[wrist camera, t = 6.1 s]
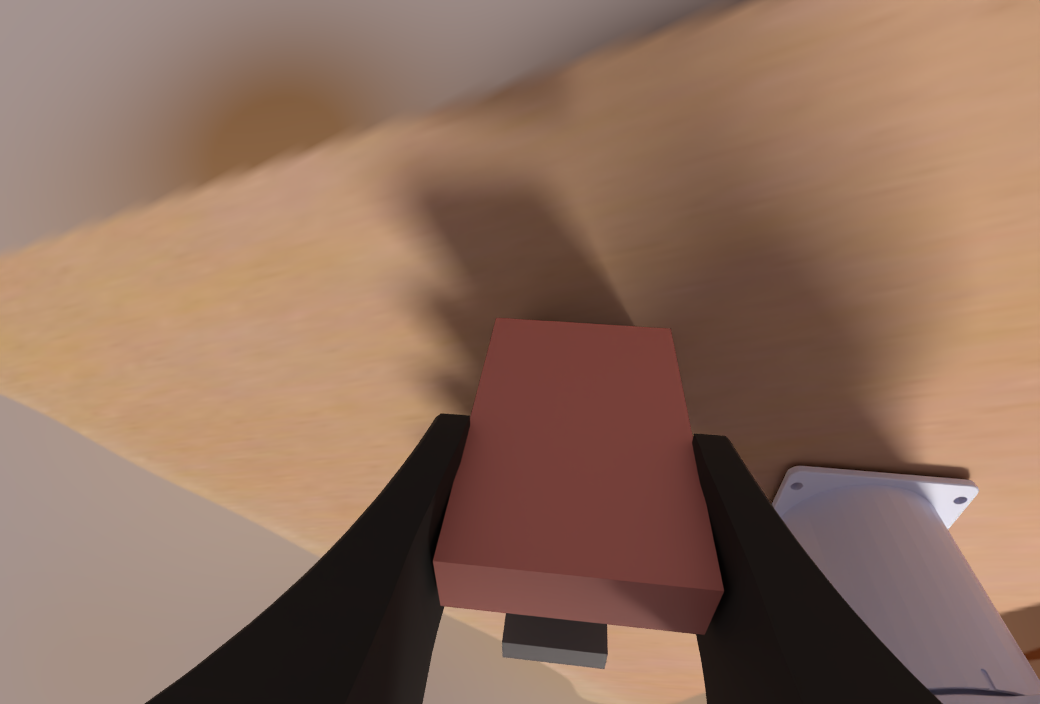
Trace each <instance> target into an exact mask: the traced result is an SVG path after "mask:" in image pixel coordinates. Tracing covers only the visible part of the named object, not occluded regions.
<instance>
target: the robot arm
mask: <svg viewBox="0 0 1040 704" xmlns="http://www.w3.org/2000/svg"><path fill="white" fill-rule="evenodd" d="M469 428H470V416H466V415H454V414H440V415H438V416H437V417H436V418H435V420H434V421H433V423H432V424H431V426H430V427H429V429H428V430H427V432H426V433H425V435H424V436H423V438H422V439H421V440H420V442H419V443H418V445H417V446H416V448H415V449H414V450H413V452H412V453H411V454H410V456H409V457H408V458H407V460H406V461H405V462H404V464H403V465H402V466H401V468H400V469H399V470H398V471H397V473H396V474H395V475H394V477H393V478H392V479H391V480H390V482H389V483H388V484H387V485H386V487H385V488H384V489H383V490H382V492H381V493H380V494H379V495H378V497H377V498H376V499H375V500H374V501H373V502H372V504H371V505H370V506H369V507H368V508H367V509H366V510H365V511H364V513H363V514H362V515H361V516H360V517H359V518H358V519H357V521H356V522H355V523H354V524H353V525H352V526H351V527H350V529H349V530H348V531H347V532H346V533H345V534H344V535H343V536H342V537H341V538H340V539H339V540H338V541H337V542H336V544H335V545H334V546H333V547H332V548H331V549H330V550H329V551H328V552H327V553H326V554H325V555H324V556H323V557H322V558H321V559H320V560H319V561H318V562H317V563H316V564H315V565H314V566H313V567H312V568H311V569H310V570H309V571H308V572H307V573H305V574H304V576H303V577H301V578H300V579H299V580H298V581H297V582H296V583H295V584H294V585H292V586H291V587H290V588H289V589H288V590H287V591H286V592H285V593H284V594H283V595H282V596H281V597H279V598H278V599H277V600H276V601H275V602H274V603H273V604H272V605H271V606H269V607H268V608H267V609H266V610H265V611H264V612H262V613H261V614H260V615H259V616H258V617H257V618H255V619H254V620H253V621H252V622H251V623H250V624H248V625H247V626H246V627H245V628H243V629H242V630H241V631H240V632H238V633H237V634H236V635H235V636H233V637H232V638H231V639H230V640H228V641H227V642H226V643H225V644H223V645H222V646H221V647H219V648H218V649H217V650H216V651H214V652H213V653H212V654H211V655H209V656H208V657H207V658H206V659H205V660H203V661H202V662H201V663H200V664H198V665H197V666H196V667H194V668H193V669H192V670H190V671H189V672H188V673H186V674H185V675H184V676H182V677H181V678H180V679H178V680H177V681H176V682H175V683H173V684H171V685H170V686H169V687H167V688H166V689H164V690H163V691H162V692H160V693H159V694H157V695H156V696H155V697H153V698H152V699H151V700H149V701H148V702H146V703H145V704H422V703H423V697H424V692H425V687H426V682H427V677H428V672H429V666H430V661H431V656H432V651H433V647H434V643H435V639H436V635H437V631H438V627H439V623H440V620H441V616H442V613H443V609H444V606H440V600H439V594H438V588H437V582H436V577H435V571H434V565H433V559H434V555H435V551H436V547H437V543H438V539H439V536H440V532H441V528H442V524H443V520H444V516H445V513H446V509H447V505H448V501H449V497H450V493H451V489H452V486H453V482H454V479H455V476H456V474H457V471H458V468H459V466H460V463H461V459H462V455H463V452H464V448H465V444H466V440H467V436H468V432H469ZM692 446H693V451H694V456H695V461H696V466H697V471H698V476H699V481H700V485H701V488H702V491H703V495H704V498H705V501H706V504H707V509H708V514H709V519H710V524H711V529H712V534H713V539H714V544H715V549H716V554H717V558H718V563H719V568H720V573H721V578H722V583H723V588H724V593H723V595H722V597H721V599H720V602H719V604H718V606H717V608H716V610H715V613H714V615H713V617H712V619H711V622H710V624H709V626H708V628H707V630H706V633H705V635H701V634H696V636H697V641H698V646H699V651H700V656H701V662H702V668H703V675H704V681H705V689H706V698H707V704H1040V680H1039V679H1038V677H1037V676H1036V674H1035V672H1034V671H1033V669H1032V667H1031V666H1030V664H1029V662H1028V661H1027V659H1026V657H1025V656H1024V654H1023V653H1022V651H1021V649H1020V648H1019V646H1018V644H1017V643H1016V641H1015V639H1014V638H1013V636H1012V634H1011V633H1010V631H1009V629H1008V628H1007V626H1006V625H1005V623H1004V621H1003V620H1002V618H1001V616H1000V615H999V613H998V611H997V610H996V608H995V606H994V605H993V603H992V602H991V600H990V598H989V597H988V595H987V593H986V592H985V590H984V588H983V587H982V585H981V583H980V582H979V580H978V579H977V577H976V575H975V574H974V572H973V570H972V569H971V567H970V565H969V564H968V562H967V560H966V559H965V557H964V556H963V554H962V552H961V551H960V549H959V547H958V546H957V544H956V542H955V541H954V539H953V537H952V536H951V534H950V533H949V531H948V529H949V528H950V527H951V525H952V524H953V523H954V522H955V520H956V519H957V518H958V517H959V516H960V514H961V513H962V512H963V511H964V510H965V508H966V507H967V506H968V505H969V504H970V502H971V501H972V500H973V499H974V497H975V496H976V495H977V494H978V492H979V489H978V487H977V485H976V484H975V483H974V482H973V481H971V480H966V479H954V478H942V477H930V476H918V475H906V474H895V473H883V472H871V471H859V470H847V469H835V468H823V467H811V466H794V467H792V468H790V469H789V470H788V471H787V472H786V475H785V477H784V479H783V481H782V483H781V485H780V488H779V490H778V492H777V494H776V496H775V498H774V500H773V503H772V504H771V503H770V502H769V500H768V499H767V497H766V496H765V494H764V493H763V491H762V490H761V488H760V487H759V485H758V484H757V482H756V481H755V479H754V478H753V476H752V475H751V473H750V472H749V470H748V469H747V467H746V465H745V464H744V462H743V461H742V459H741V458H740V456H739V454H738V453H737V451H736V450H735V448H734V447H733V445H732V443H731V442H730V440H729V439H728V438H727V437H726V436H718V435H705V434H694V437H693V440H692Z"/></svg>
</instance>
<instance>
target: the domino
mask: <svg viewBox="0 0 1040 704" xmlns="http://www.w3.org/2000/svg"><path fill="white" fill-rule="evenodd" d="M502 651H503V657H507V658H515V659H524V660H532V661H541V662H549V663H558V664H566V665H575V666H583V667H592V668H600V669H604V668H605V664H606V660H607V655H608V648H607V624H601V623H592V622H583V621H574V620H564V619H555V618H546V617H537V616H528V615H519V614H510V613H506V617H505V625H504V632H503V640H502Z"/></svg>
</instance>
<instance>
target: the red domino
mask: <svg viewBox="0 0 1040 704" xmlns="http://www.w3.org/2000/svg"><path fill="white" fill-rule="evenodd" d="M692 440H693V436H692V431H691V426H690V421H689V416H688V411H687V406H686V401H685V396H684V392H683V387H682V382H681V377H680V372H679V367H678V362H677V357H676V352H675V347H674V343H673V338H672V333H671V329H667V328H651V327H635V326H620V325H604V324H588V323H572V322H556V321H541V320H525V319H509V318H496V320H495V324H494V328H493V332H492V336H491V340H490V343H489V347H488V351H487V355H486V359H485V363H484V367H483V370H482V374H481V378H480V382H479V386H478V390H477V393H476V397H475V401H474V405H473V409H472V413H471V416H470V428H469V432H468V436H467V440H466V444H465V448H464V452H463V455H462V459H461V463H460V466H459V468H458V471H457V474H456V476H455V479H454V482H453V486H452V489H451V493H450V497H449V501H448V505H447V509H446V513H445V516H444V520H443V524H442V528H441V532H440V536H439V539H438V543H437V547H436V551H435V555H434V559H433V565H434V571H435V577H436V582H437V588H438V594H439V600H440V606H446V607H456V608H465V609H474V610H483V611H492V612H501V613H510V614H519V615H528V616H537V617H546V618H555V619H564V620H574V621H583V622H592V623H601V624H610V625H619V626H628V627H637V628H646V629H655V630H664V631H673V632H682V633H691V634H701V635H705V633H706V630H707V628H708V626H709V624H710V622H711V619H712V617H713V615H714V613H715V610H716V608H717V606H718V604H719V602H720V599H721V597H722V595H723V593H724V588H723V583H722V578H721V573H720V568H719V563H718V558H717V554H716V549H715V544H714V539H713V534H712V529H711V524H710V519H709V514H708V509H707V504H706V501H705V498H704V495H703V491H702V488H701V485H700V481H699V476H698V471H697V466H696V461H695V456H694V451H693V446H692Z"/></svg>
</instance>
